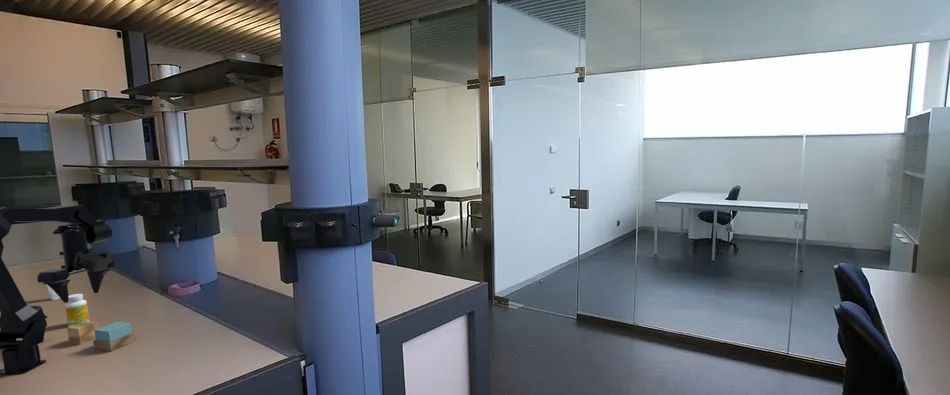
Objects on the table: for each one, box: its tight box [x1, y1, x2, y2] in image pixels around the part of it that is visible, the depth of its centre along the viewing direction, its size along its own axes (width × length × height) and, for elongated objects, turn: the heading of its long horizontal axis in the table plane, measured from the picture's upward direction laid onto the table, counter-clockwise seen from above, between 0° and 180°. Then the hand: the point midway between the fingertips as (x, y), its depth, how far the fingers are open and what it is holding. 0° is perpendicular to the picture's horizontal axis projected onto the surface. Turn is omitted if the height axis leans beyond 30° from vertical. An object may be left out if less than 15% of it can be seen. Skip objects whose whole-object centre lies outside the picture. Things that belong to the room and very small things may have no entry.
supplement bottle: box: [64, 293, 90, 327], centre depth 149 cm, size 5×5×10 cm
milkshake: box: [46, 284, 61, 301], centre depth 178 cm, size 4×5×10 cm
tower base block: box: [92, 331, 138, 352], centre depth 130 cm, size 7×7×3 cm
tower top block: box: [94, 321, 133, 342], centre depth 130 cm, size 6×6×3 cm
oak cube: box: [66, 320, 99, 346], centre depth 135 cm, size 5×5×5 cm
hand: (81, 297), depth 135 cm, fingers open, 9 cm apart
